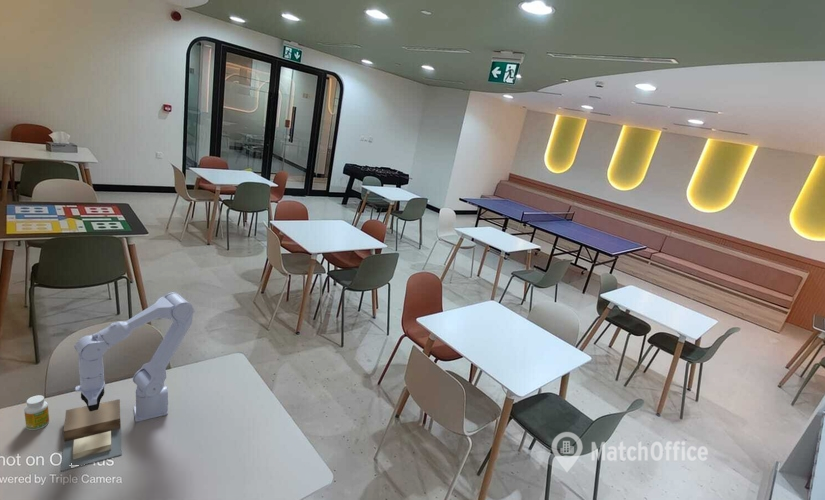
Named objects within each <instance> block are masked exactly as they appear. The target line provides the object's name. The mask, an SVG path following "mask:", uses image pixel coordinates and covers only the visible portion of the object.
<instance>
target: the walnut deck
mask: <svg viewBox="0 0 825 500" xmlns="http://www.w3.org/2000/svg"><path fill="white" fill-rule="evenodd" d="M120 402H121V401H120V398H119V399H115V400H110V401H105V402H100V404H99V408H98V410H95V411H89V409H88V407H87V405H85V406H80V407H75V408H70V409H66V410H65V417H64V424H63V440H64V441H63V443H64V442H65V441H69V440H73V439H77V438H82V437H86V436H90V435H94V434H98V433H102V432H107V431H111V430H115V429H119V428H121V427H122V426H121V425H122V424H121V404H120ZM121 429H122V428H121Z"/></svg>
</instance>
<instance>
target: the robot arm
mask: <svg viewBox="0 0 825 500" xmlns="http://www.w3.org/2000/svg"><path fill="white" fill-rule="evenodd" d="M195 311H196V310H195V308H194V307H193V305H192V304H191V303H190V302H189V301H187V300H186V299H185V298H184V297H183V296H181V295H180V293H178V292H175V291H173V292H169V293H167V294H165V295H163V296H161V297H159V298H158V299H157V300H156V302H155V303H154V304H152V305H150V306H148V307H147V308H145V309H144V310H142V311H140V312H138V313H137V314H136V315H134V316H132V317H131V318H129V319H127V320H126V321H125V320H124V321H121V320H120V321H119V320H118V321H116V322H112V323H109V326H106V327H105V328H104V329H103V328H102V329H101V330H99V331H97V332H95V333H93V334H89V335H84V336H83V337H81V338H79V339H78V340H77V342H76V343H75V345H74V350H76V352H78V373H79V385H76V386H75V391H74V392H76V393H77V392H80V399H81V400H82V401H83V402H84V403H85V404H86V406H87V407H88V409H89V411H95V410H98V408H99V404H100V403H101V400H102V398H103V397H104V395H105V386H106V381H105V375H104V374H105V371H104V358H103V356H104V355H105V354H106V352H107V351H108V350H109V349H110V348H111V347H113V346H115V345H117V344H118V343H120V342H122V341H123V340H125V339H127V338H129V337H130V336H131V333H132V331H134V330H136V329H138V328H140V327H143V326H144V325H145V324H148V323H150V322H153V321H154V320H156V319H158V318H159V319H167V320H171V319H172V323H171V325H170V326H169V328H168V330H167V332H166V333H165V335H164V337H162V338H163V339H162V340H161V341H160V343H159V345H158V347H157V349H156V351H155V352H154V354H153V355H152V357H151V359H150V361H149V362H147V363H143V364H142V366H141V368H140V369H138V370H137V371H136V372H135V374H134V375H133V377H132V382H133V383H134V384H135V385H136V388H135V405H134V406H133V411H134V412H133V414H134V421H135V422H136V423H137V422H141V421H145V420H151V419H155V418H158V417H162V416H167V415H168V413H169V410H168V409H169V408H168V407H169V391H168V387H167V385H165V381H166V380H167V370H166V369H167V367H168V365H169V363H170V362H171V360H172V358H173V356H174V355H175V353H176V352H177V349H178V348H179V346H180V344H181V343H182V341H183V339H184V338H185V336H186V334H187V333H188V331H189V329H190V327H191V325H192V324H193V316H194V315H193V314H194V313H195Z"/></svg>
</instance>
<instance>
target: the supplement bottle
mask: <svg viewBox="0 0 825 500" xmlns="http://www.w3.org/2000/svg"><path fill="white" fill-rule="evenodd" d="M23 410H24V421H25V427H26V428H25V429H27V430H29V431H36V430H41V429H43V428H45V427H46V426H48V424H49V423H50V414H49V404H48V402H47V401H46V400H45V396H43V395H41V394H40V395H39V394H38V395H34V396H30V397H29V398H28V399H27V400H26V405H25V406H24V409H23Z"/></svg>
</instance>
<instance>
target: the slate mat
mask: <svg viewBox="0 0 825 500" xmlns="http://www.w3.org/2000/svg"><path fill="white" fill-rule="evenodd" d="M121 429H122V428H119V429H115V430H111V450H107V451H103V452H99V453H96V454H92V455H88V456H84V457H81V458H77V459H73V445H74V440H75V439H73V440H69V441H65V442H64V441H63V450H62V459H61V466H60V467H61V468H60V472H61V473H62V472H64V471H65V472H66V471H69V470H71V469H70V468H71V466H69V465H71V463H72V465H79V466H80V467H82V466H81V465H84V464H87V465H89V464H88V463H91V464H94V463H93V462H95V463H98V462H102V461H104V460H108V459H109V460H110V459H113V458H116V457H120V456H122V433H121V431H122V430H121ZM107 432H108V431H107ZM102 433H104V432H102ZM98 434H100V433H98ZM94 435H96V434H94ZM90 436H92V435H90ZM86 437H88V436H86ZM82 438H84V437H82ZM77 439H79V438H77ZM84 466H85V465H84Z"/></svg>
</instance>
